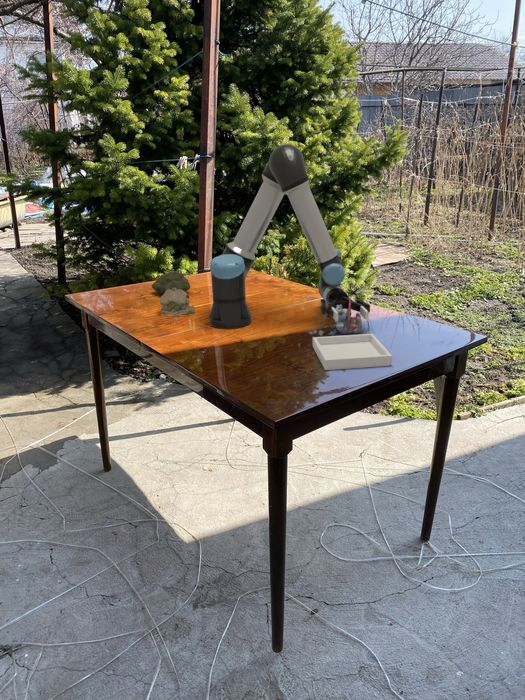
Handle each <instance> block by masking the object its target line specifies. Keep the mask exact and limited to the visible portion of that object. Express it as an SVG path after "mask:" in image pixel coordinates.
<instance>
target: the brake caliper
mask: <svg viewBox="0 0 525 700" xmlns="http://www.w3.org/2000/svg"><path fill="white" fill-rule="evenodd" d="M351 299H352V298H351V297H349V308H348V309H342V305H336V306H337V307H336V311H337V312H338V321H335V320H334V322H335V323H334V324H333V327H334V328H336V329H337V330H338V332H340V333H341V334H342V335H343V334H344V335H349V334H359V333H361V331H362V329H363V320H362V318H361V317H362V315H361V314H360V312H356V314H355V316H352V312H351V310H352V309H351Z"/></svg>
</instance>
